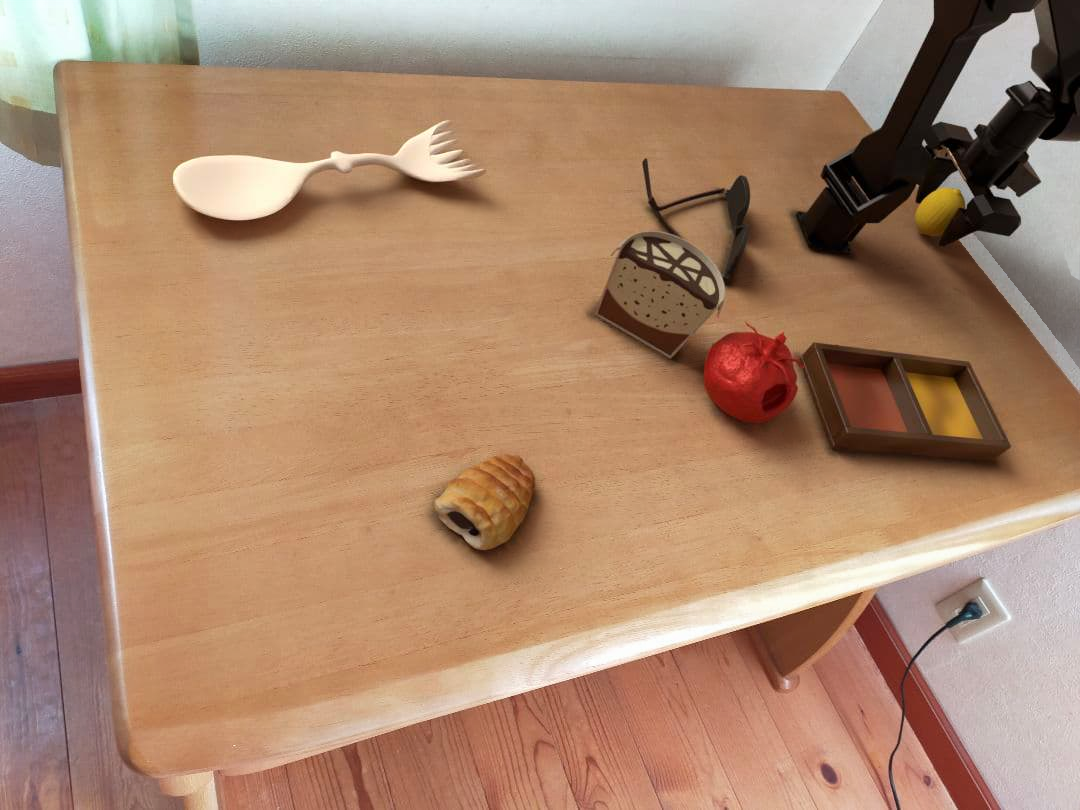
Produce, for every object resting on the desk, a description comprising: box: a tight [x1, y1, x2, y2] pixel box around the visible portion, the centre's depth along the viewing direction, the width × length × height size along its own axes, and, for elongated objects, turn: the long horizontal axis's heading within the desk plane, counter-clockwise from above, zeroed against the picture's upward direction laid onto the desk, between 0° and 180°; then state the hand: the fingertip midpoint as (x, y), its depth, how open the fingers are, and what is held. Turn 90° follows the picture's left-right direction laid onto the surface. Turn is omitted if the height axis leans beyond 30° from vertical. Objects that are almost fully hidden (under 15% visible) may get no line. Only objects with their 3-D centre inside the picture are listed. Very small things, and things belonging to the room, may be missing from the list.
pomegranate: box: [703, 320, 804, 424], centre depth 90 cm, size 10×10×9 cm
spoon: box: [172, 119, 487, 221], centre depth 91 cm, size 9×32×4 cm, turn 122°
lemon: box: [914, 187, 966, 237], centre depth 121 cm, size 6×6×8 cm
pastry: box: [433, 454, 536, 551], centre depth 74 cm, size 9×7×4 cm
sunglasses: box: [641, 157, 751, 283], centre depth 106 cm, size 17×14×5 cm
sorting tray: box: [798, 341, 1012, 462], centre depth 99 cm, size 22×12×3 cm, turn 97°
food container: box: [594, 230, 726, 360], centre depth 91 cm, size 12×6×10 cm, turn 65°
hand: (929, 223), depth 122 cm, fingers open, 8 cm apart
